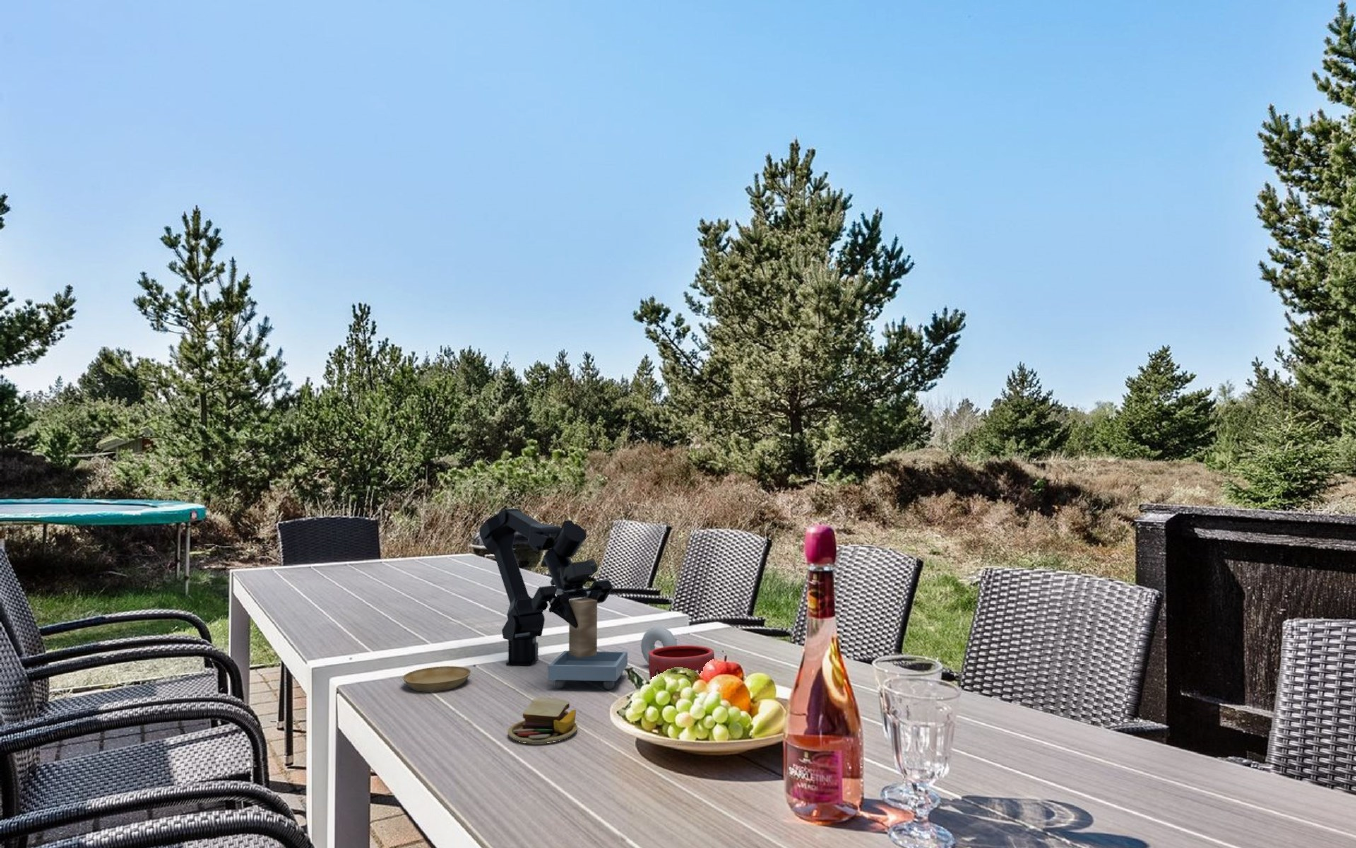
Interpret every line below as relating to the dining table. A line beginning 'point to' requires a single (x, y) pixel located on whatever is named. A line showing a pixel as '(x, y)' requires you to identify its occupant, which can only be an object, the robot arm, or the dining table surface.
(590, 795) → the dining table surface
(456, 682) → the plant saucer
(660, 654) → the plant pot
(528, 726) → the toy sandwich meal
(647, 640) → the donut
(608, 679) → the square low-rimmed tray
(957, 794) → the dining table surface
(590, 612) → the block
